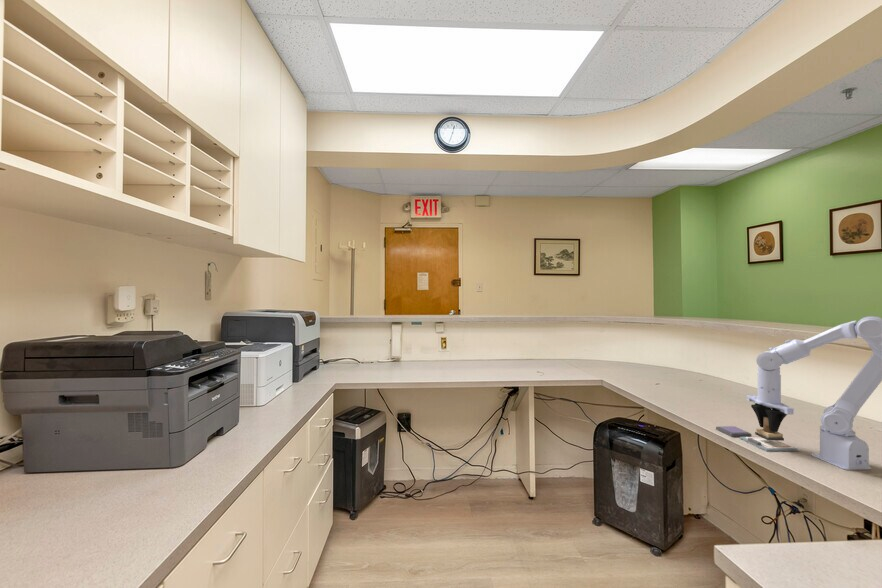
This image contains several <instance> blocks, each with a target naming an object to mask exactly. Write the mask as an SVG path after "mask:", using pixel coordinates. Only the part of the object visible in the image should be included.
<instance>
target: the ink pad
mask: <svg viewBox="0 0 882 588" xmlns="http://www.w3.org/2000/svg"><path fill="white" fill-rule="evenodd" d="M715 430H717V431H719V432H721V433H723V434H725V435H727V436H729V437H732V438H740V437H752V433H751V432H748V431H747V430H743V429H742V428H740V427H737V426H734V425H732V426H728V425H727V426H723V425H722V426H716V427H715Z"/></svg>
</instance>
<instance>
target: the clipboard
mask: <svg viewBox="0 0 882 588" xmlns="http://www.w3.org/2000/svg"><path fill="white" fill-rule="evenodd" d="M739 439H740V440H742V441H744V442H746V443H748V444H750V445H753V446H754V447H756V448H759V449H761V450H762V451H765V452H798V448H796V447H794V446H791V445H789V444H786V443H785V442H783V441H775V440H766V439H764V438H762V437H760V436H751V437H739Z"/></svg>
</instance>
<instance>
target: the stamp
mask: <svg viewBox="0 0 882 588" xmlns="http://www.w3.org/2000/svg"><path fill="white" fill-rule="evenodd" d="M754 435H756V436H757V437H762V438H764V439H766V440H775V441H780V442H783V441H784V440H785V438H784V437H783V436H784V434H783V433H781V432H771V431H770V429H769V420H768V416H763V428H755V432H754Z"/></svg>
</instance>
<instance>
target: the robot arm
mask: <svg viewBox="0 0 882 588" xmlns="http://www.w3.org/2000/svg"><path fill="white" fill-rule="evenodd" d="M858 336H859V337H861V339H862V340H864V341H865V342H866V343H867V344H868V346H869V348H870V349H871V351H872V352H873V353H872V354H871V355H870V356H869V358H868V359H867V361H866V362H865V364H864V365H863V366H862V368H861V369H860V370H859V371H858V373H857V374H856V376H855V377H854V378H853V380H852V381H851V382H850V384H849V385H848V386H847V387H846V389H845V391H843V393H842V394H841V396H839V398H838V399H837V400H836V402H834V403H833V404H832V405H830V406H827V407H826V408H824V410H823V412H822V413H823V415H821V418H820V422H821V425H820V426H819V453H811V456H812V457H814V458H817V459H819V460H821V461H824V462H825V463H829V464H830V465H833V466H835V467H837V468H840V469H842V470H845V471H846V470H847V471H852V470H853V471H854V470H855V471H857V470H858V471H859V470H861V471H862V470H872V467H870V465H869V460H870V459H869V458H870V456H869V455H870V452H869V451H870V450H869V445H868V443H867V442H866V441H865V440H863V439H861V438H860V437H858V436H857V434H856V433H857V432H856V431H855V430H853V427H854V424H853V423H854V420H855V418H856V416H857V415H858V413H859V411H860V410H861V408H862V406H863V405H865V403H866V402H867V400H868V399H869V398H870V397H871V395H873V393H874V392H875V390H877V388H878V387H879V385H880V384H881V383H882V317H880V316H875V315H870V316H869V315H868V316H865V317H862V318H861V319H859V320H858V321H857V320H852V321H849V322H844V323H841V324H838V325H836V326H833V327H832V328H830V329H827V330H824V331H823V332H820V333H818V334H815V335H813V336H811V337H809V338H807V339H804V340H803V339H802V340H801V339H796V338H795V339H792V340H791V339H787V340H785V341H784V343H783V344H781V345H778V346H775V347H773V346H771V347H769V348H768V350H767V351H762V353H760V354H758V356H756V359H755V360H756V361H755V362H756V365H758V367H757V370H758V372H757V395H753V394H747V395H746V401H748V402H752V403H754V404H751V409H752V410H753V412H754V413H755V416H756V418H757V421H758V425H759V427H760V428H761V429H763V416H768V420H769V429H770V431H771V432H778V431H779V428H780V426H781V423H782V422H783V420H784V419H785V418H786V417H787V416H788V415H794V414H795V413H794V411H795V409H794V408H793V407H791V406H788V405H786V404H785V403H783V402H782V399H781V398H782V395H781V394H782V375H781V366H782V365H788V364H790V363H793V362H795V361H796V362H797V361H798V360H800V359H803V358H806V357H809V356H810V355H811V351H812V350H814V349H816V348H820V347H822V346H824V345H825V346H826V345H828V344H830V343H833V342H835V341H838V340H841V339H858Z"/></svg>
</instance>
